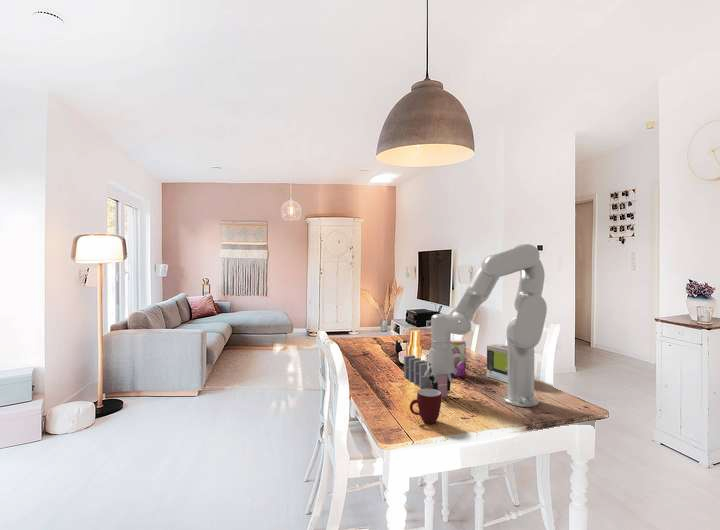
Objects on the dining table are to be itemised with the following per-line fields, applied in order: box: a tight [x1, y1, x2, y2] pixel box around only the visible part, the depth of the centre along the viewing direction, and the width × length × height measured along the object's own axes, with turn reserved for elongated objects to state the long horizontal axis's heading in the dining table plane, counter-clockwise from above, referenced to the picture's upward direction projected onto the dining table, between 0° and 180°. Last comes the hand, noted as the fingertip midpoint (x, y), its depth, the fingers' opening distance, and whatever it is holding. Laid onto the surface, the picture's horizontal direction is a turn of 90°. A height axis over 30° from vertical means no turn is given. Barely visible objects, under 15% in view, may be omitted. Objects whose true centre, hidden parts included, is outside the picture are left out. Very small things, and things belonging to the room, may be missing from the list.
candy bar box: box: [451, 339, 467, 377], centre depth 186 cm, size 11×5×16 cm, turn 84°
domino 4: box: [418, 362, 432, 389], centre depth 169 cm, size 2×5×10 cm, turn 110°
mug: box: [409, 388, 443, 425], centre depth 133 cm, size 10×8×10 cm
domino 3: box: [413, 359, 427, 386], centre depth 173 cm, size 2×5×10 cm, turn 110°
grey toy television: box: [486, 343, 508, 384], centre depth 179 cm, size 15×10×15 cm, turn 28°
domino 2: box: [408, 357, 421, 383], centre depth 178 cm, size 2×5×10 cm, turn 110°
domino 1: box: [403, 354, 416, 379], centre depth 182 cm, size 2×5×10 cm, turn 110°
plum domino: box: [436, 374, 449, 398], centre depth 157 cm, size 2×5×10 cm, turn 110°
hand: (441, 390), depth 157 cm, fingers closed on plum domino, 4 cm apart
